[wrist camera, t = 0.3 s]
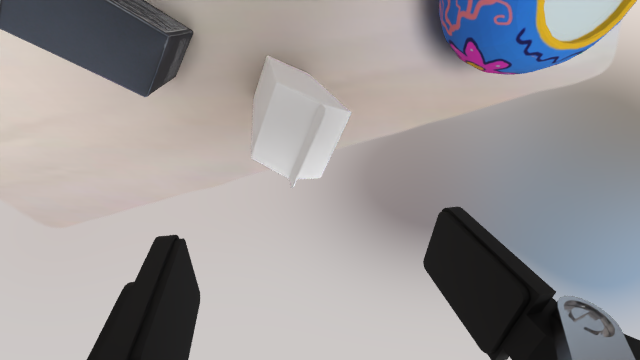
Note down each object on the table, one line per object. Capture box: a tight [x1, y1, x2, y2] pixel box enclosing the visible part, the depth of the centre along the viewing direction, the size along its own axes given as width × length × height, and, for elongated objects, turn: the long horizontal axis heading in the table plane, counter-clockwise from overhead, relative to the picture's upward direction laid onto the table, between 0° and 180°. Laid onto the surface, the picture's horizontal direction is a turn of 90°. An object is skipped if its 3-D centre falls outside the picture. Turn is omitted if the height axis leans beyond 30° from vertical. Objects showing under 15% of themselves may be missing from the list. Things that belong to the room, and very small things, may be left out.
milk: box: [251, 55, 351, 188], centre depth 27 cm, size 6×6×22 cm
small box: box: [0, 0, 193, 97], centre depth 25 cm, size 11×6×10 cm, turn 57°
